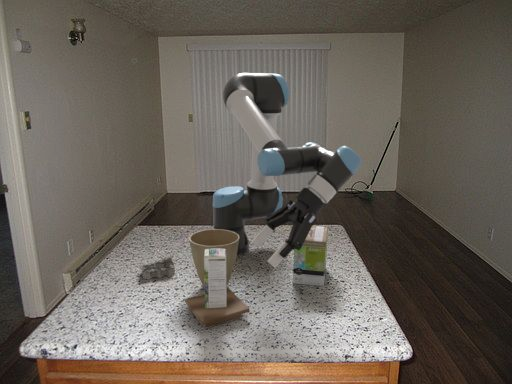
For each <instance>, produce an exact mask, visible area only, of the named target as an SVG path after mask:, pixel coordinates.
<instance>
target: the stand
mask: <svg viewBox="0 0 512 384" xmlns="http://www.w3.org/2000/svg"><path fill="white" fill-rule="evenodd" d="M184 303H185V304H186V305H187V307H188V308H189V310H190V311H191V312H192V313H193V315H194V316H195V318H196V319H197V320H198V322H199V323H200V324H201V325H202V326H204V327H205V328H206V329H208V328H212V327H215V326H218V325H222V324H225V323H228V322H231V321H235V320H237V319H242V318H243V315H244V314H246V313H247V314H248V313H250V307H248V306H247V305H246V304H245V302H244V301H243V300H241V299H240V298H239V297H238V296H237V295H236V294H235V293H234V292H233V290H231V289H230V288H229V287H228V288H227V307H223V308H209V309H206V308H205V293H203V294H200V295H195V296H191V297H187V298H184Z"/></svg>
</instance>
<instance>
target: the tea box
mask: <svg viewBox="0 0 512 384" xmlns="http://www.w3.org/2000/svg"><path fill="white" fill-rule="evenodd" d="M328 229H329V228H328V227H327V226H317V225H313V226H312V227H311V229H310V231H309V233H308V235H307V237H306V239H305V241H304V243H303V245H302V248H301V249H300V250H297V249H293V264H292V265H293V266H292V267H293V270H292V284H298V285H306V286H307V285H308V286H318V287H324V284H325V279H326V278H325V277H326V267H327V266H326V265H327V251H328ZM298 244H299V243H298Z"/></svg>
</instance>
